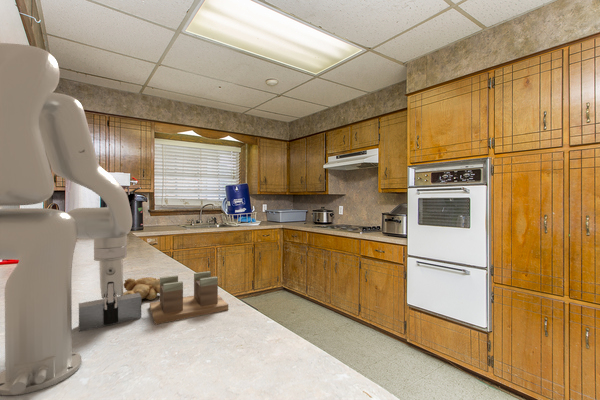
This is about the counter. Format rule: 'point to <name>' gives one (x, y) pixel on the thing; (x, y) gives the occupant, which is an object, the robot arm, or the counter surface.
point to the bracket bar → (94, 310)
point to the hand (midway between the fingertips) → (111, 319)
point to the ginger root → (143, 287)
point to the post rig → (187, 299)
